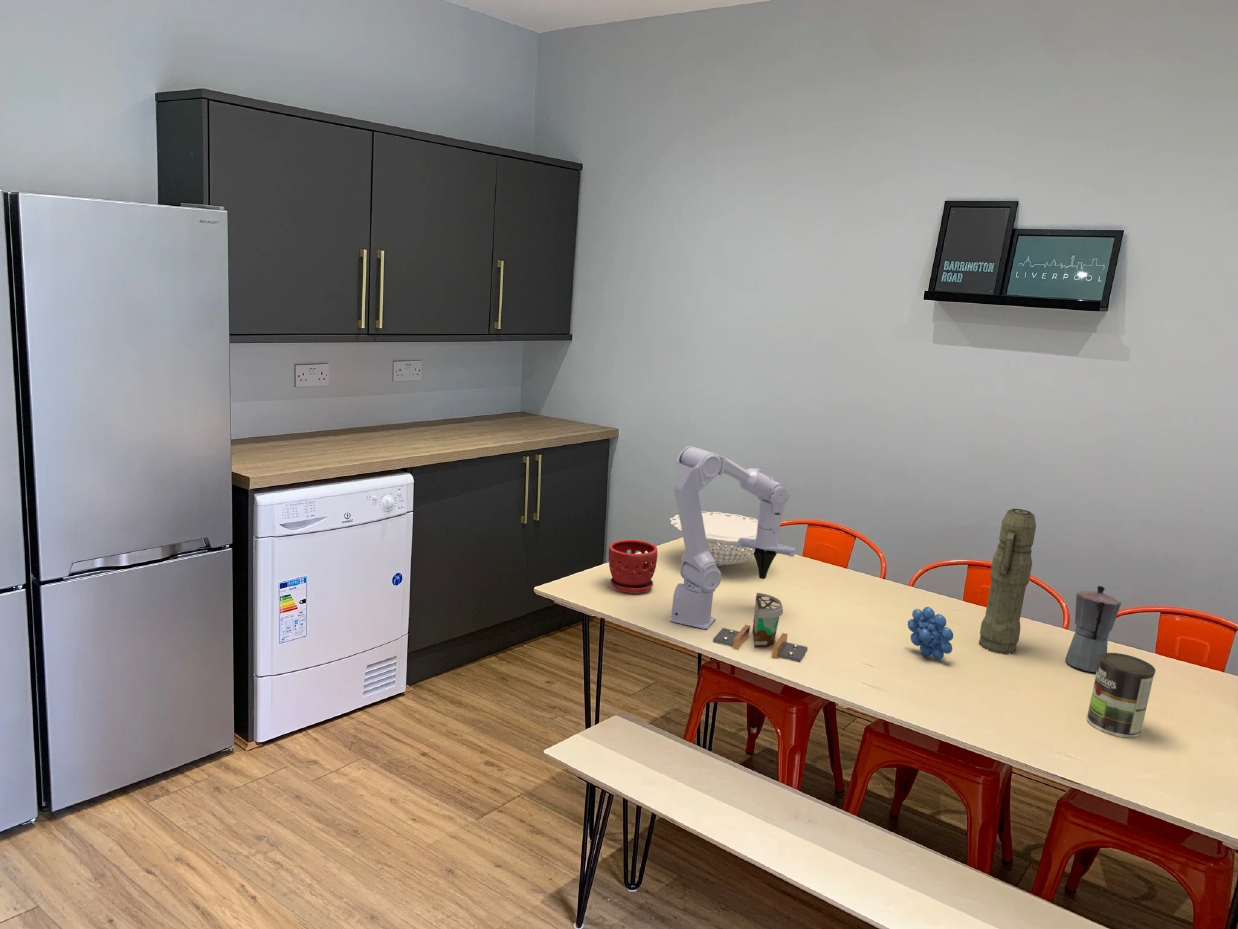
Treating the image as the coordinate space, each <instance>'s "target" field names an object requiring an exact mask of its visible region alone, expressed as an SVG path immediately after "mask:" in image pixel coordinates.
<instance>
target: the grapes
mask: <svg viewBox="0 0 1238 929" xmlns="http://www.w3.org/2000/svg"><path fill="white" fill-rule="evenodd" d="M911 613H912V614H911V616H912V618H910V619H909V620H908V621H907V628H908V629H909V631H910V632H912V633H911V634H910V641H911V643H912V644H913V645H914V646H916V647H919V651H920V653H921V654H922V655H923V657H926V658H927V657H928V658H930V656H932V657H933V658H934V659H935V660H938V661H940V660H942V659H943V658H944V657H945V655H947V654H948V655H949V654H951V653H952V652H953V646H952V643H951V642H950V641H952V640H953V639H954V632H953V631H952V629H951V628H949V627H948V626H947V619H946V617H945V616H944V615H943V614H941V613H935V611H934V609H933V608H932V607H929V606H925V607H924V608H923V609H922V610H921V609H919V608H915V609H914V610H913V611H912V612H911Z"/></svg>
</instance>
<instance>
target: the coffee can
mask: <svg viewBox="0 0 1238 929" xmlns="http://www.w3.org/2000/svg"><path fill="white" fill-rule="evenodd" d="M1155 674H1156V667H1155V666H1153V665H1152V664H1151V663H1149V662H1147V661H1146V660H1143V659H1141V658H1138V657H1135V656H1133V655H1129V654H1125V653H1117V652H1107V653H1103V654H1101V655H1099V663H1098V668H1097V672H1095V677H1094V682H1093V688H1092V692H1091V697H1090V702H1089V706H1088V710H1087V716H1086V722H1087V723H1088V724H1089V725H1090V726H1092V727H1093V728H1094V729H1096V730H1098V731H1100V732H1103V733H1104V734H1108V735H1110V736H1114V737H1119V738H1123V739H1124V738H1125V739H1134V738H1138V737H1140V736H1141V735H1142V728H1143V724H1144V719H1145V717H1146V712H1147V707H1148V703H1149V697H1150V694H1151V689H1152V685H1153V680H1154V676H1155Z"/></svg>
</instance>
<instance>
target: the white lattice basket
mask: <svg viewBox="0 0 1238 929" xmlns="http://www.w3.org/2000/svg"><path fill="white" fill-rule="evenodd" d="M701 512H702V517H703V523H704V529H705V534H706V540H707V546H708V551H709V553H710V554H711V555H712V557H713V558H714V560H715V561H716V566H717V567H721V566H724V565H727V566H728V565H735V564H736V565H737V564H742V563H745V562H747V561H749V560H750V559H753V557H754V552H755V549H752V548H747V547H738V539H740V538H746V539H756V534H757V526H758V519H757V518H754V517H749V516H744V515H742V514H733V513H730V512H729V513H728V512H727V513H725V512H721V511H704V510H703V511H702V510H701ZM669 521H670V525H673V528H675V529H677V530H678V531H680V532H682V528H681V523H680V517H679V514H676V515H674V516H673V517H670V518H669ZM718 548H719V549H718Z"/></svg>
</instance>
